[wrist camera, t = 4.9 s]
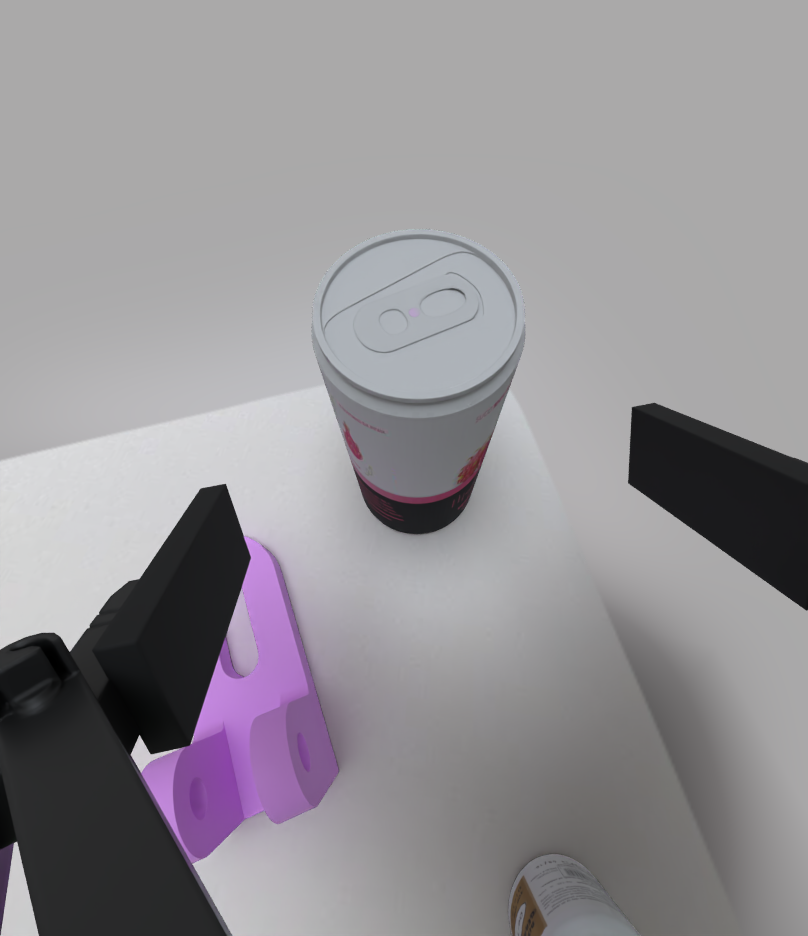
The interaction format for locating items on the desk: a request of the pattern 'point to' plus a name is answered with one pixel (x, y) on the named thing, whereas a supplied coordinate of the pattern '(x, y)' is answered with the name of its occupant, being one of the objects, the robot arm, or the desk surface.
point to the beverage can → (418, 367)
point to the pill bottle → (563, 902)
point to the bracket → (250, 731)
